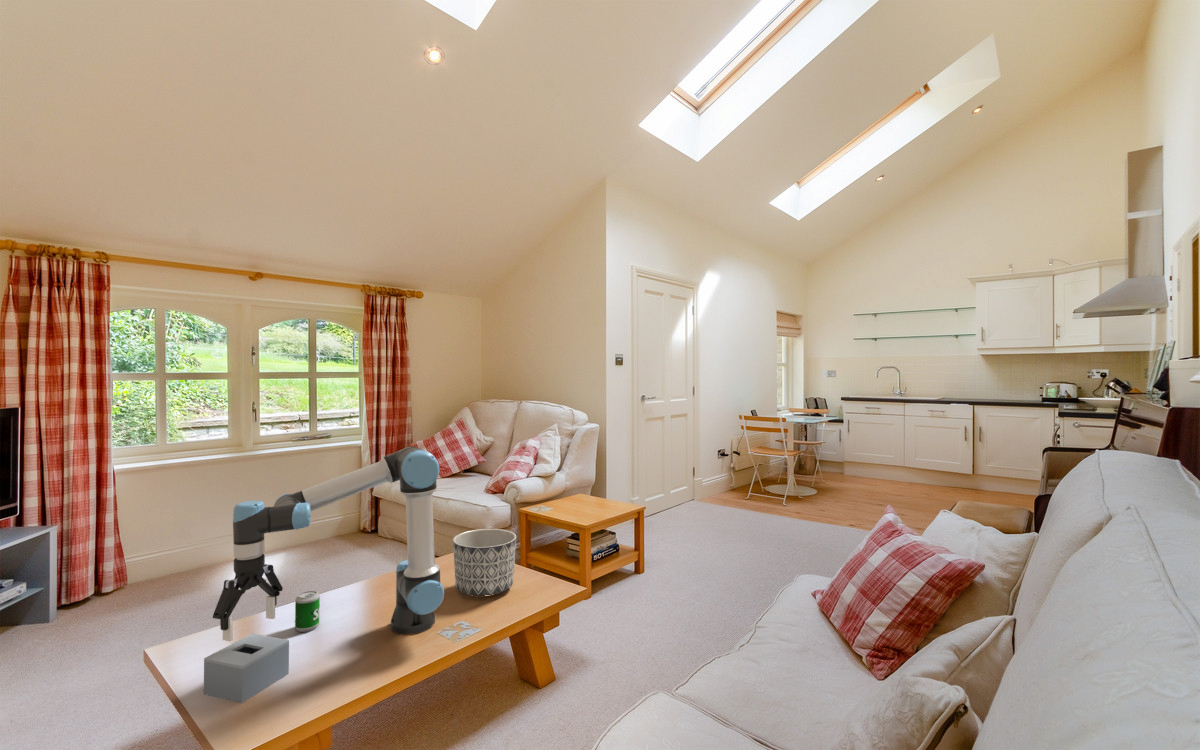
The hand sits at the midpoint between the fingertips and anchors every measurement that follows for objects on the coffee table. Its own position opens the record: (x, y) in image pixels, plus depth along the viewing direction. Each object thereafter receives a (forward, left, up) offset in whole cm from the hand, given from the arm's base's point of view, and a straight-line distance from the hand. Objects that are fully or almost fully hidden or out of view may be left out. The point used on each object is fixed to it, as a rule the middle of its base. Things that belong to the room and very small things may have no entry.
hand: (250, 628), depth 154 cm
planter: (-32, -81, -16) cm, 88 cm away
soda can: (+11, -32, -16) cm, 37 cm away
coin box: (0, 0, -16) cm, 16 cm away
